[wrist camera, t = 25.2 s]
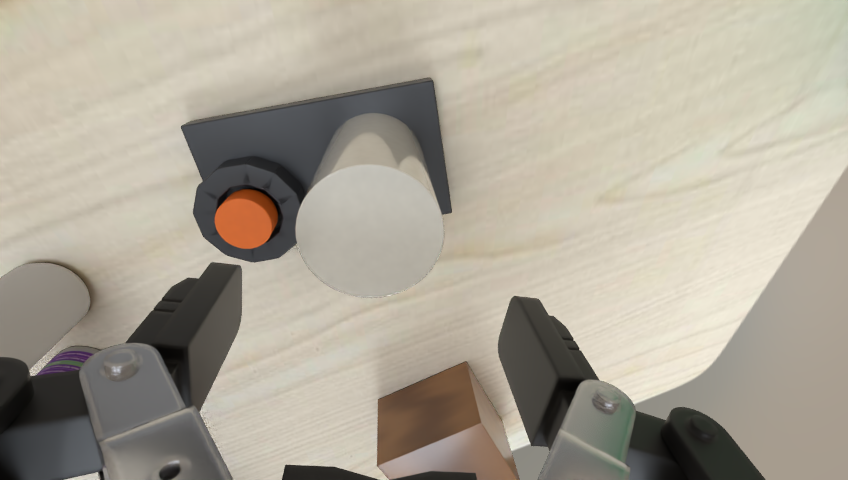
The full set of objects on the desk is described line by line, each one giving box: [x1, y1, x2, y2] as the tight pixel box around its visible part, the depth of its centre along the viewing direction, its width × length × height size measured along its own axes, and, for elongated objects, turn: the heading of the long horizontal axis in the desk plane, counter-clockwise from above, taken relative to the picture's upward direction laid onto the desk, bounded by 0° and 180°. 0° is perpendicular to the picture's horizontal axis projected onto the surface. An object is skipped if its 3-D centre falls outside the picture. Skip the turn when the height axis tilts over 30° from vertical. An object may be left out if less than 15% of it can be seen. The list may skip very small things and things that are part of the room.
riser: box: [377, 362, 520, 480], centre depth 34 cm, size 8×8×6 cm
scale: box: [181, 78, 452, 262], centre depth 25 cm, size 14×8×3 cm, turn 100°
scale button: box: [215, 189, 278, 249], centre depth 24 cm, size 3×3×2 cm
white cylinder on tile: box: [295, 113, 444, 298], centre depth 21 cm, size 6×6×10 cm
